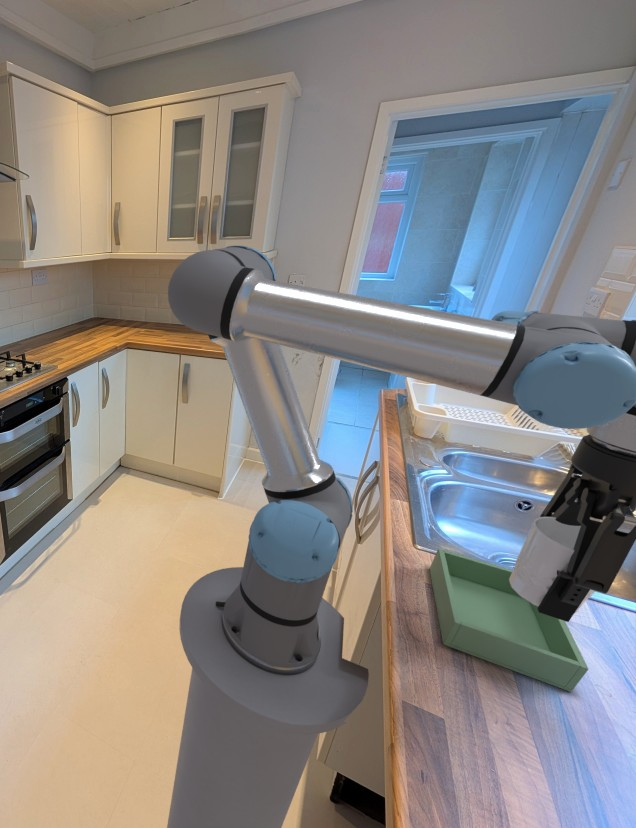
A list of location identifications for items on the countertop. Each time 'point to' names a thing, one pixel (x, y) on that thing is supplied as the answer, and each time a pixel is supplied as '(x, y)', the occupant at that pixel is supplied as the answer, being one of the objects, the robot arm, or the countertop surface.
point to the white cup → (544, 558)
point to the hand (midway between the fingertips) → (543, 593)
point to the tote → (501, 622)
